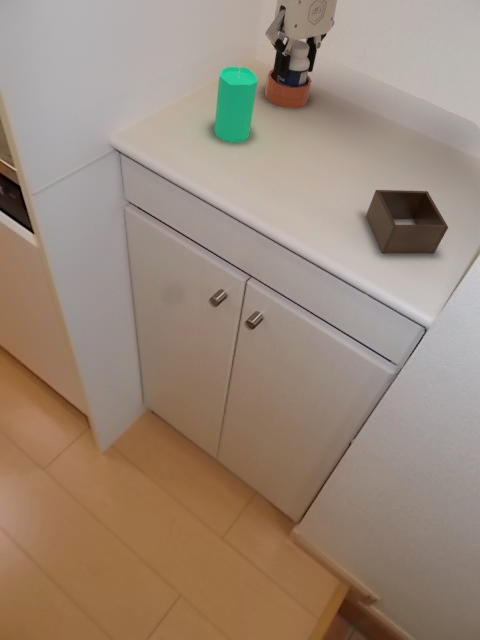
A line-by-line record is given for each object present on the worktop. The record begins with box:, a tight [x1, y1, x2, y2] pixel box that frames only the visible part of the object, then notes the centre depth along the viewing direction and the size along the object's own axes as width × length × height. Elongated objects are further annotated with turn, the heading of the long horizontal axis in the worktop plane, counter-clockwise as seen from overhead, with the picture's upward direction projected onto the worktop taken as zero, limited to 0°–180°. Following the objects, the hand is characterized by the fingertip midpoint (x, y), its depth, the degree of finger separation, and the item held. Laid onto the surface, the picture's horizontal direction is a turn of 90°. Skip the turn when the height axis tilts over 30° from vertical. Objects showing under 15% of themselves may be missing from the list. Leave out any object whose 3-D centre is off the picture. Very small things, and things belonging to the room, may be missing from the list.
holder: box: [365, 189, 449, 254], centre depth 75 cm, size 8×8×6 cm
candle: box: [213, 65, 259, 143], centre depth 84 cm, size 6×6×12 cm
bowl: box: [264, 68, 312, 109], centre depth 98 cm, size 8×8×4 cm
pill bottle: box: [276, 39, 310, 87], centre depth 95 cm, size 5×5×10 cm
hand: (292, 71), depth 95 cm, fingers closed on pill bottle, 5 cm apart
